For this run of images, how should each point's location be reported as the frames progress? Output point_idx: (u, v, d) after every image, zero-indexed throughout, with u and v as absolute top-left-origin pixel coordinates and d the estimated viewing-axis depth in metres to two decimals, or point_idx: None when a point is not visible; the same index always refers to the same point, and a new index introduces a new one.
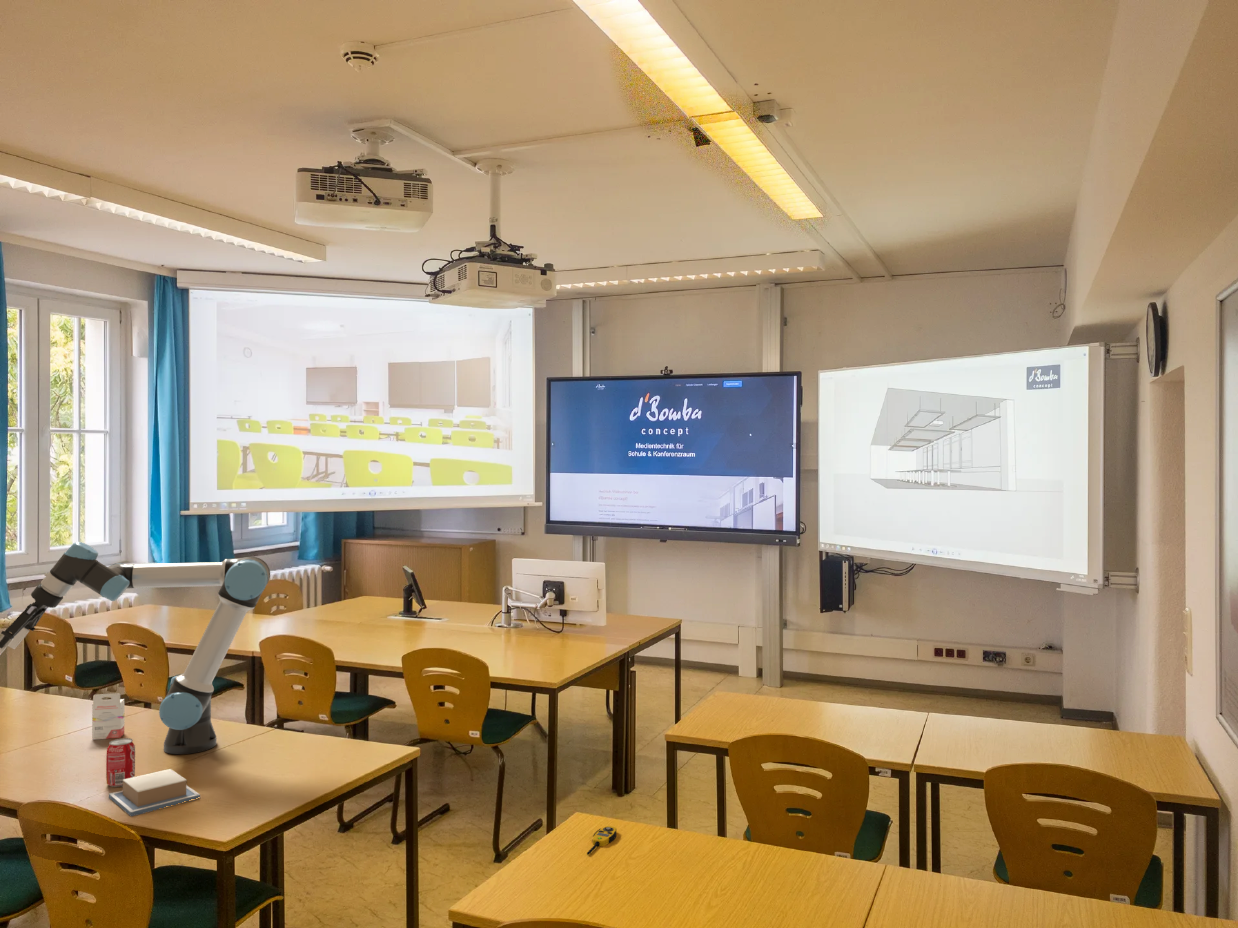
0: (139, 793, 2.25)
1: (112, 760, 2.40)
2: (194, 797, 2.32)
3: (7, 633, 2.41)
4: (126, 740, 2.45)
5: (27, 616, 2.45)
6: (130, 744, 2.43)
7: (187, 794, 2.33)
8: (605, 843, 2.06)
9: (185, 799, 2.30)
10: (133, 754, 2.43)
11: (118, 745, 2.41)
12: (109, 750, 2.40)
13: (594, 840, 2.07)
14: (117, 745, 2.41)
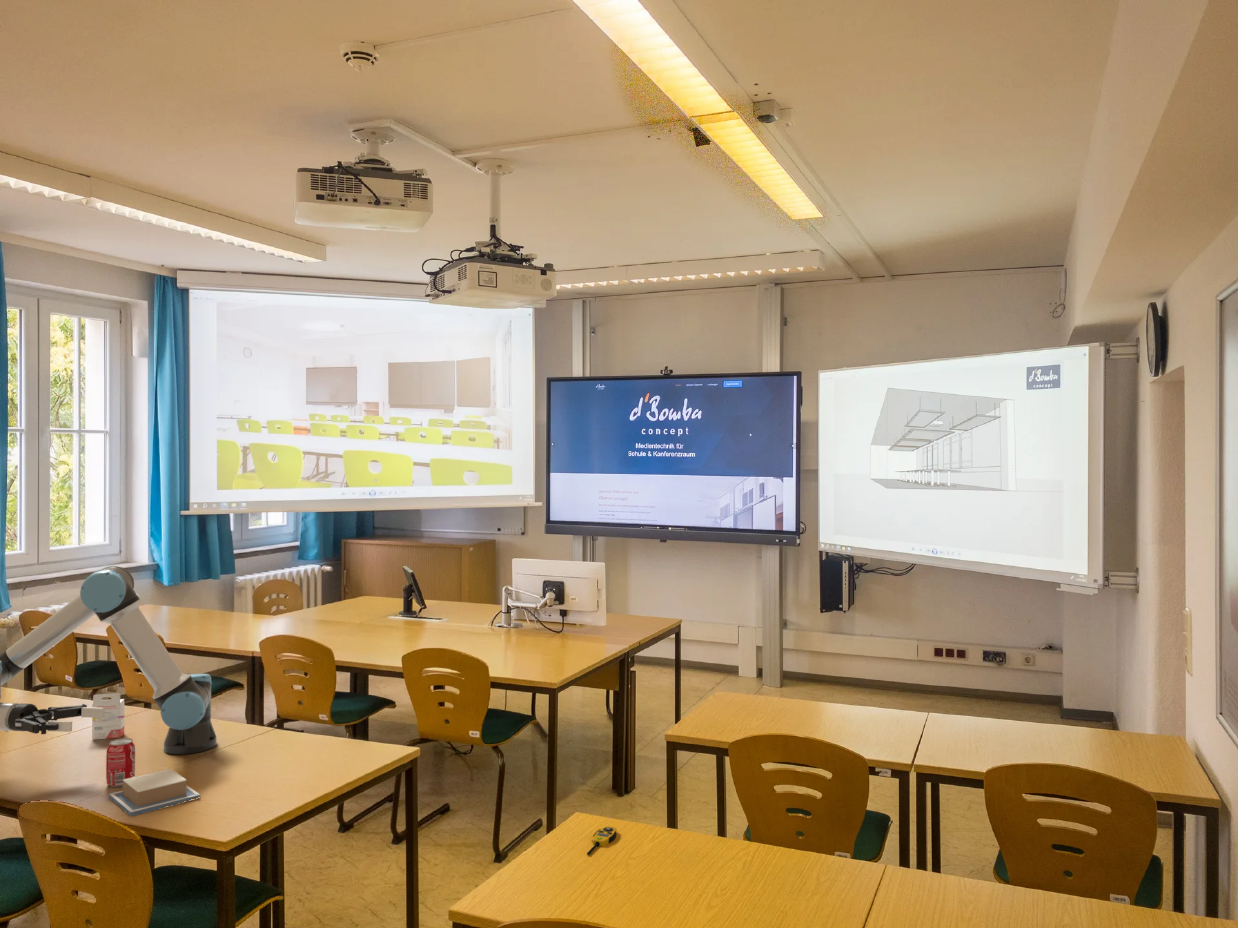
0: (139, 793, 2.25)
1: (112, 760, 2.40)
2: (194, 797, 2.32)
3: (34, 729, 2.35)
4: (126, 740, 2.45)
5: (22, 723, 2.38)
6: (130, 744, 2.43)
7: (187, 794, 2.33)
8: (605, 843, 2.06)
9: (185, 799, 2.30)
10: (133, 754, 2.43)
11: (118, 745, 2.41)
12: (109, 750, 2.40)
13: (594, 840, 2.07)
14: (117, 745, 2.41)
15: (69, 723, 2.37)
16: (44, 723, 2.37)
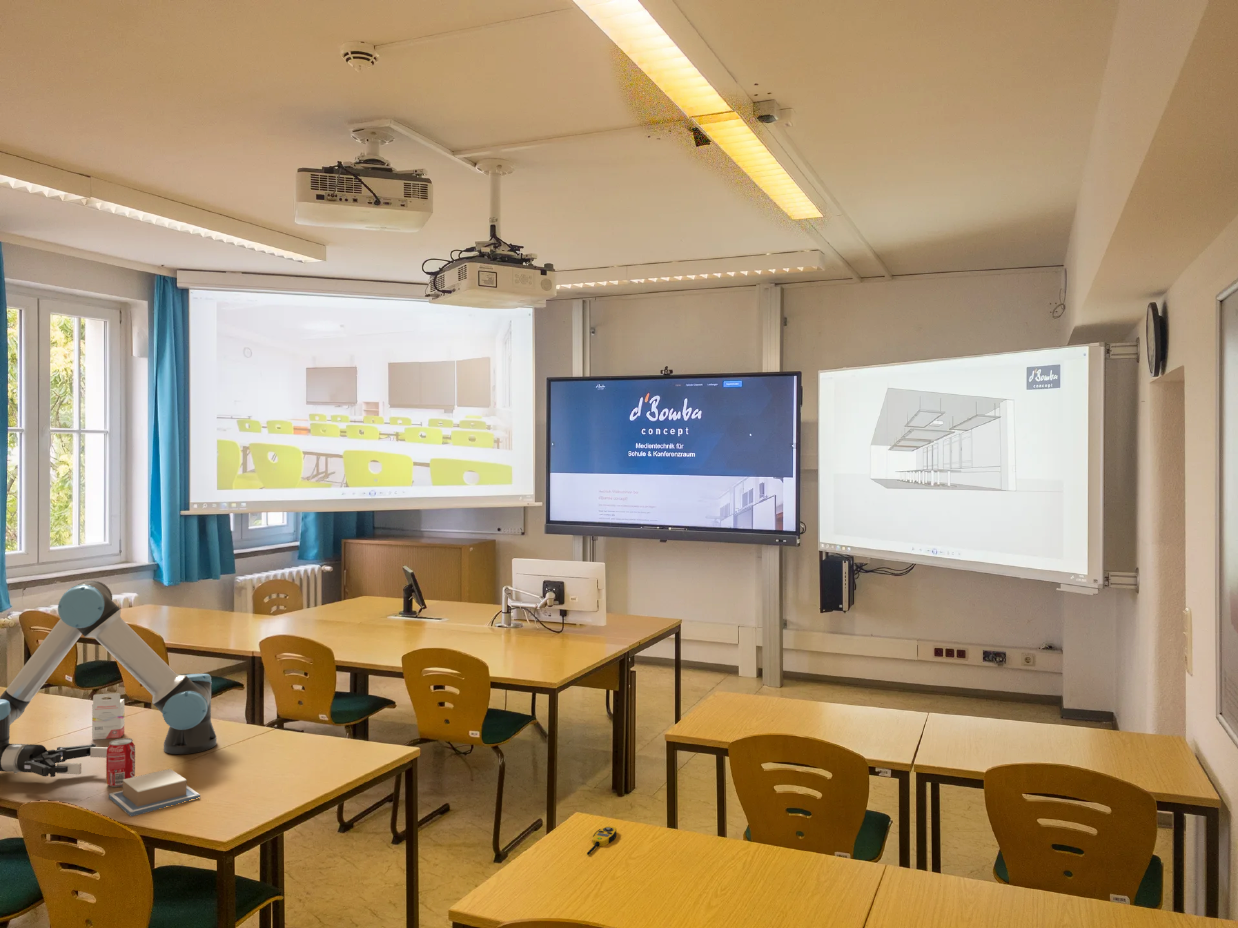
0: (139, 793, 2.25)
1: (112, 760, 2.40)
2: (194, 797, 2.32)
3: (43, 772, 2.34)
4: (126, 740, 2.45)
5: (31, 765, 2.37)
6: (130, 744, 2.43)
7: (187, 794, 2.33)
8: (605, 843, 2.06)
9: (185, 799, 2.30)
10: (133, 754, 2.43)
11: (118, 745, 2.41)
12: (109, 750, 2.40)
13: (594, 840, 2.07)
14: (117, 745, 2.41)
15: (78, 765, 2.36)
16: (53, 766, 2.36)
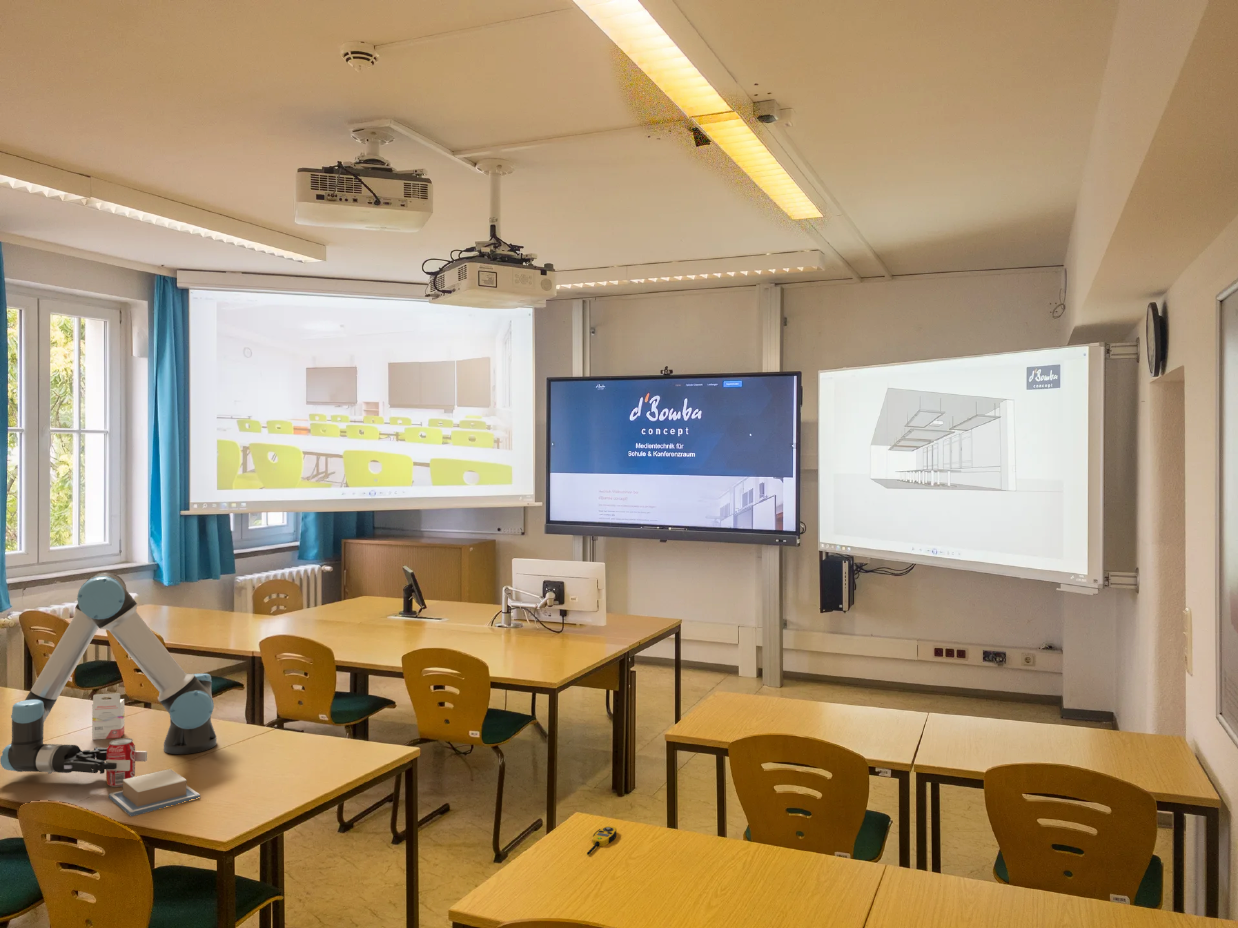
0: (139, 793, 2.25)
1: None
2: (194, 797, 2.32)
3: (93, 769, 2.37)
4: (126, 740, 2.45)
5: (73, 764, 2.38)
6: (130, 744, 2.43)
7: (187, 794, 2.33)
8: (605, 843, 2.06)
9: (185, 799, 2.30)
10: (133, 754, 2.43)
11: (118, 745, 2.41)
12: (109, 750, 2.40)
13: (594, 840, 2.07)
14: (117, 745, 2.41)
15: (127, 762, 2.39)
16: (103, 762, 2.39)
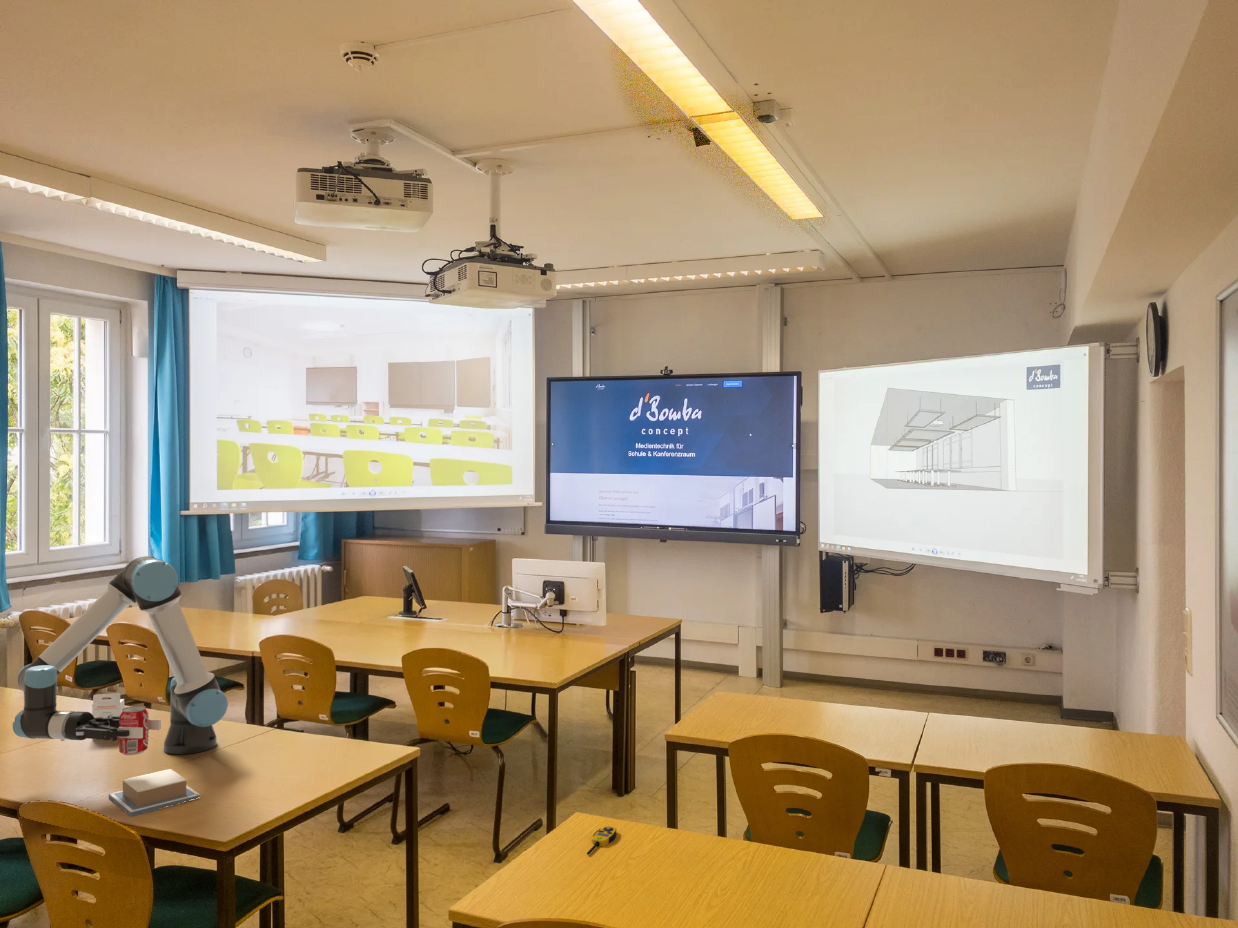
0: (139, 793, 2.25)
1: None
2: (194, 797, 2.32)
3: (105, 736, 2.29)
4: (139, 707, 2.38)
5: (85, 731, 2.31)
6: (143, 711, 2.36)
7: (187, 794, 2.33)
8: (605, 843, 2.06)
9: (185, 799, 2.30)
10: (146, 721, 2.36)
11: (131, 712, 2.33)
12: (122, 717, 2.33)
13: (594, 840, 2.07)
14: (130, 712, 2.33)
15: (140, 729, 2.31)
16: (116, 729, 2.31)
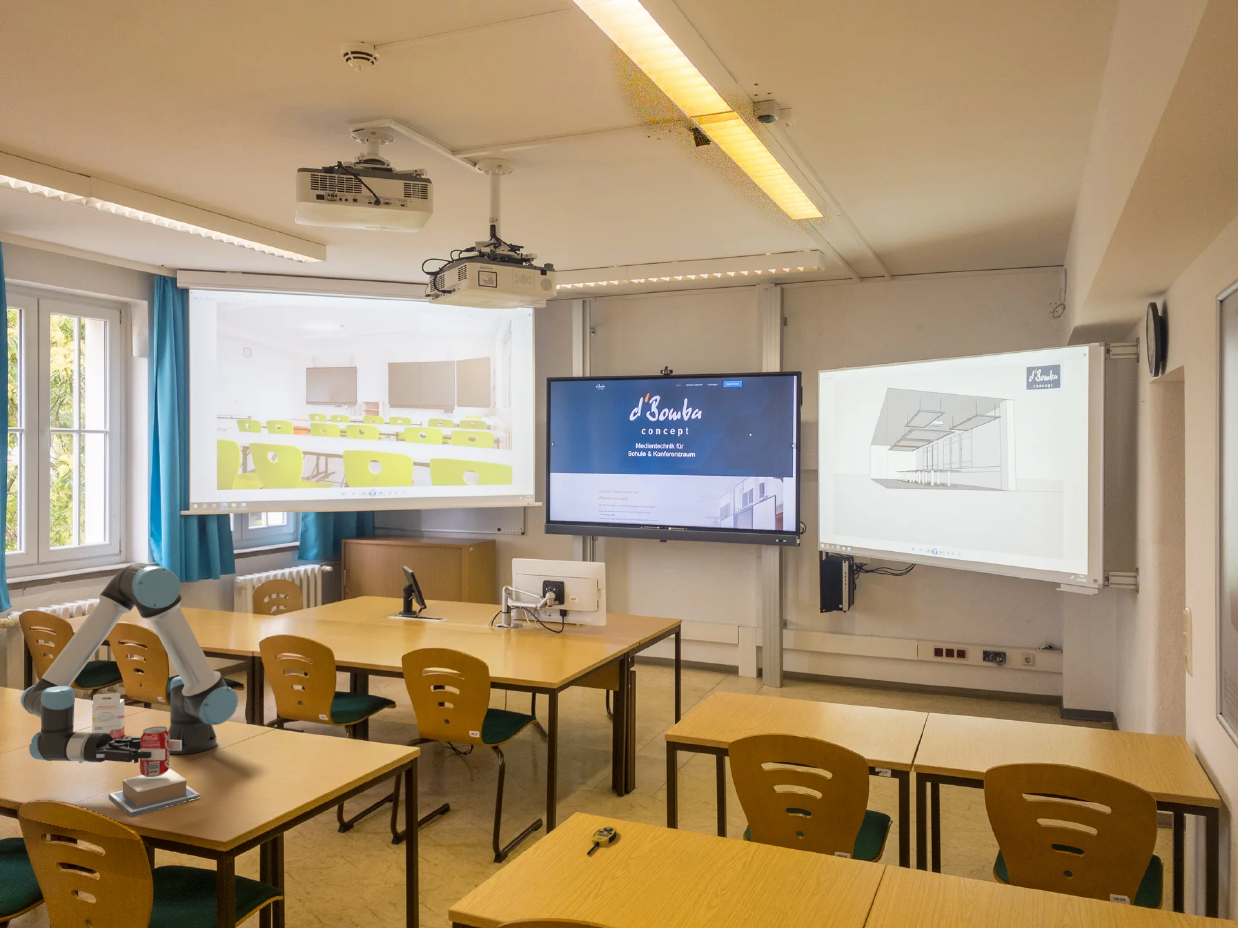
0: (139, 793, 2.25)
1: None
2: (194, 797, 2.32)
3: (127, 758, 2.26)
4: (160, 728, 2.35)
5: (106, 753, 2.27)
6: (165, 732, 2.33)
7: (187, 794, 2.33)
8: (605, 843, 2.06)
9: (185, 799, 2.30)
10: (167, 742, 2.33)
11: (152, 733, 2.31)
12: (143, 738, 2.30)
13: (594, 840, 2.07)
14: (151, 733, 2.31)
15: (162, 751, 2.29)
16: (137, 751, 2.28)
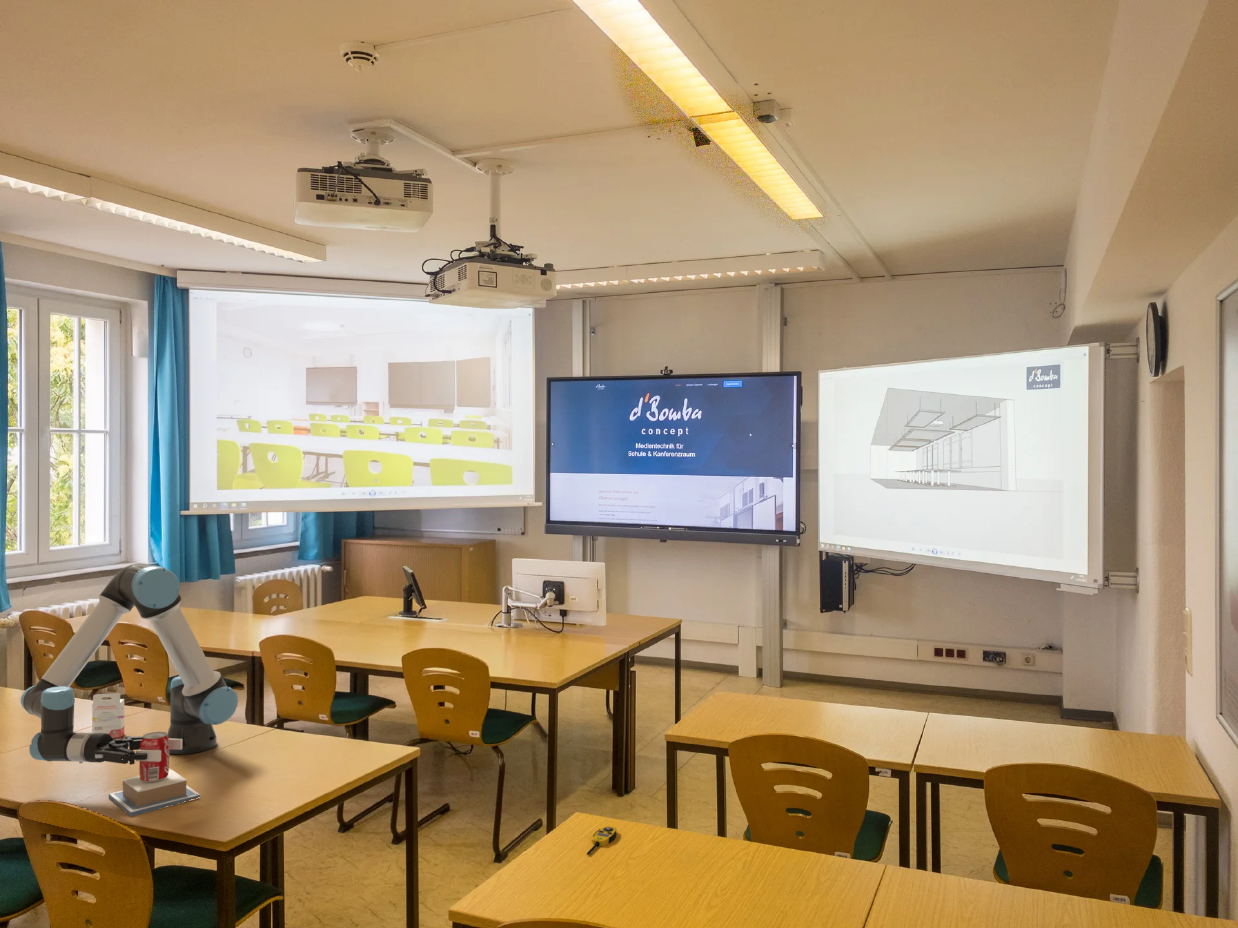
0: (139, 793, 2.25)
1: None
2: (194, 797, 2.32)
3: (123, 759, 2.25)
4: (160, 734, 2.35)
5: (104, 754, 2.27)
6: (164, 738, 2.33)
7: (187, 794, 2.33)
8: (605, 843, 2.06)
9: (185, 799, 2.30)
10: (167, 748, 2.33)
11: (152, 738, 2.31)
12: (143, 744, 2.30)
13: (594, 840, 2.07)
14: (151, 738, 2.31)
15: (158, 752, 2.28)
16: (133, 752, 2.27)
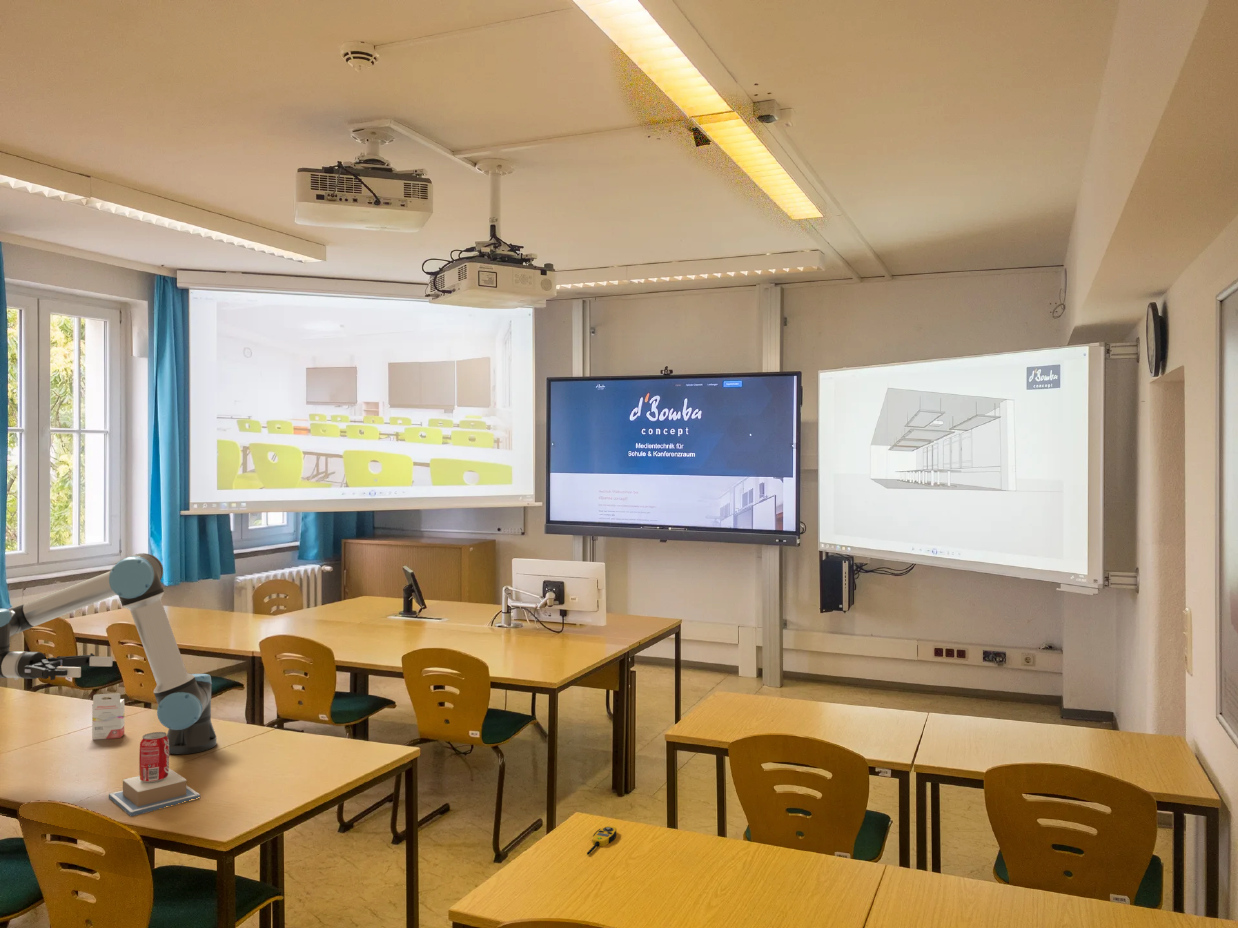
0: (139, 793, 2.25)
1: (145, 755, 2.30)
2: (194, 797, 2.32)
3: (43, 674, 2.38)
4: (160, 734, 2.35)
5: (31, 669, 2.41)
6: (164, 738, 2.33)
7: (187, 794, 2.33)
8: (605, 843, 2.06)
9: (185, 799, 2.30)
10: (167, 748, 2.33)
11: (152, 739, 2.30)
12: (142, 744, 2.30)
13: (594, 840, 2.07)
14: (151, 739, 2.30)
15: (78, 669, 2.40)
16: (53, 669, 2.40)
